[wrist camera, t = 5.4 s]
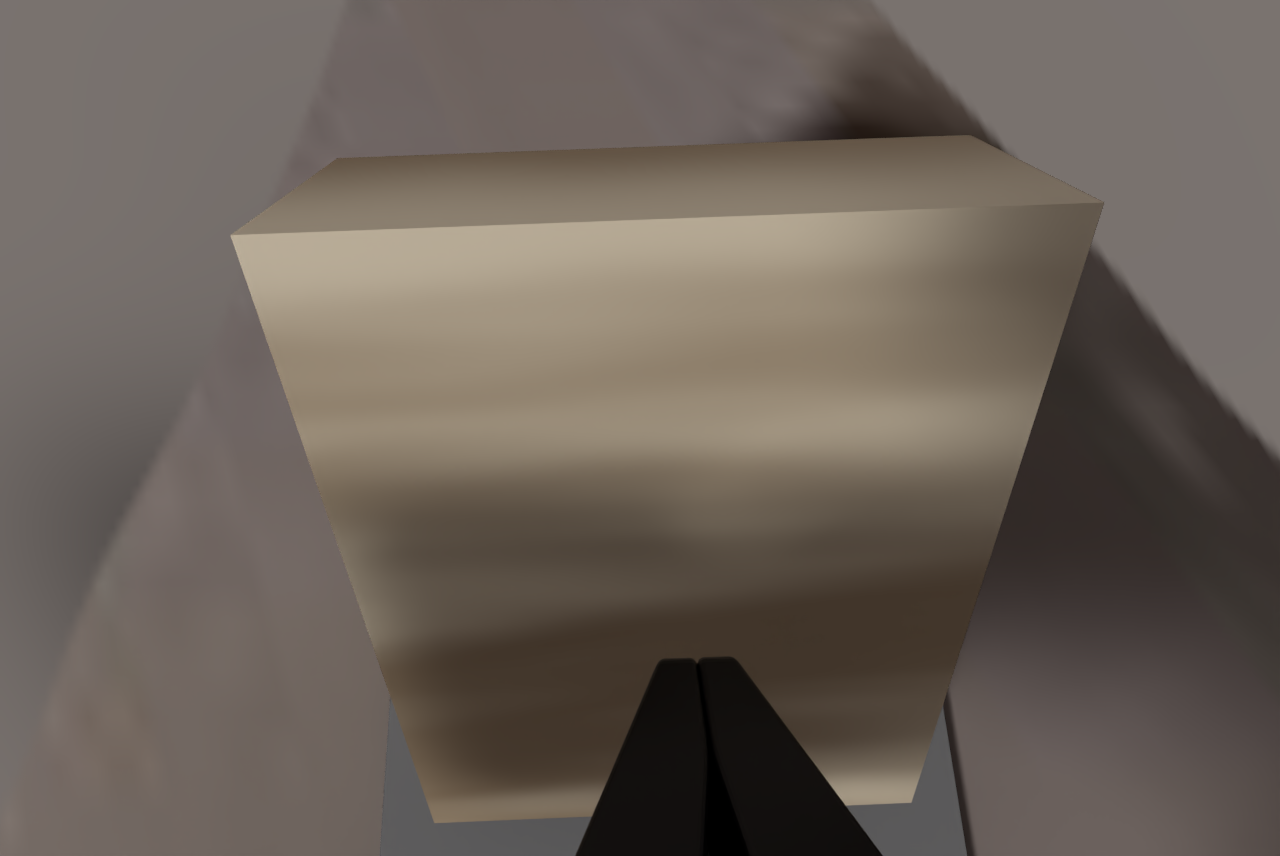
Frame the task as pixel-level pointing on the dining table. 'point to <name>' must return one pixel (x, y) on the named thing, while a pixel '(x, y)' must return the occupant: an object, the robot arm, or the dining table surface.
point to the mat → (545, 848)
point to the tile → (666, 432)
